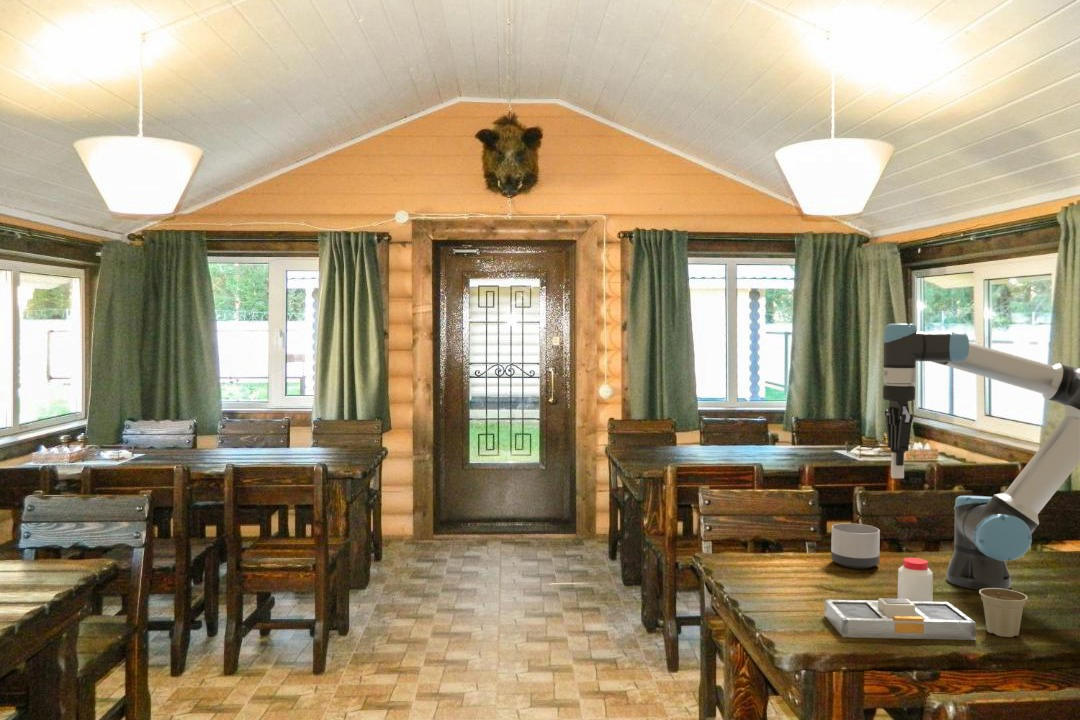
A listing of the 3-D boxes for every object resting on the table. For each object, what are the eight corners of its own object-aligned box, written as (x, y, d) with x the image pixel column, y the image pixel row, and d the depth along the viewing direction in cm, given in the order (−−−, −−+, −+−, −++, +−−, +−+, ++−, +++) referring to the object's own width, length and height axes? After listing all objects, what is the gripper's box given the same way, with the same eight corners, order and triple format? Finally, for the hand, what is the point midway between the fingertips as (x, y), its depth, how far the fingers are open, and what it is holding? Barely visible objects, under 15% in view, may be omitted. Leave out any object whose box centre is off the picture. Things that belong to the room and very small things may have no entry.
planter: (822, 564, 242) (823, 528, 242) (844, 556, 251) (845, 521, 251) (865, 573, 233) (866, 536, 233) (887, 565, 242) (887, 528, 241)
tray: (947, 618, 197) (947, 599, 197) (975, 640, 183) (976, 620, 182) (824, 615, 198) (825, 597, 198) (843, 637, 184) (843, 617, 184)
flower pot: (969, 625, 192) (970, 588, 191) (1008, 624, 192) (1009, 587, 192) (995, 641, 182) (995, 601, 182) (1036, 639, 183) (1037, 600, 183)
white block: (907, 620, 193) (907, 598, 192) (914, 627, 188) (915, 604, 188) (878, 620, 193) (878, 597, 193) (884, 626, 188) (885, 603, 188)
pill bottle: (930, 612, 201) (930, 566, 200) (895, 607, 205) (895, 561, 204) (934, 604, 207) (935, 559, 207) (900, 598, 211) (901, 554, 211)
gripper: (875, 383, 221) (873, 473, 222) (893, 386, 208) (891, 482, 209) (904, 383, 221) (902, 473, 221) (924, 386, 208) (922, 482, 208)
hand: (897, 477), depth 215 cm, fingers closed
